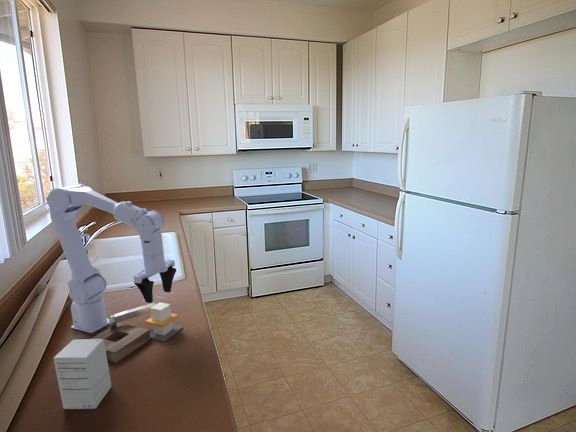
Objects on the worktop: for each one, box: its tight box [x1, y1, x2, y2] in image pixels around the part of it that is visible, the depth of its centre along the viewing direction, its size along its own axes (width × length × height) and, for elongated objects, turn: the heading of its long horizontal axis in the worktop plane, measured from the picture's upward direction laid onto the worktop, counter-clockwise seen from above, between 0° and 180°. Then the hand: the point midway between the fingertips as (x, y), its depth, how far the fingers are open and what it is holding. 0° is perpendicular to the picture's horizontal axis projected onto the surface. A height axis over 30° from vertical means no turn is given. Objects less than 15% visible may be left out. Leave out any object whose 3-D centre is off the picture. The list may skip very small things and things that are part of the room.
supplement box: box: [53, 338, 112, 410], centre depth 81 cm, size 7×7×13 cm
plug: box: [145, 301, 179, 335], centre depth 108 cm, size 6×6×8 cm
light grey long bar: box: [108, 302, 157, 328], centre depth 110 cm, size 13×2×3 cm, turn 127°
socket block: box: [90, 322, 151, 363], centre depth 102 cm, size 12×12×3 cm
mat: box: [149, 324, 184, 343], centre depth 109 cm, size 8×8×1 cm
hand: (158, 296), depth 109 cm, fingers open, 7 cm apart
